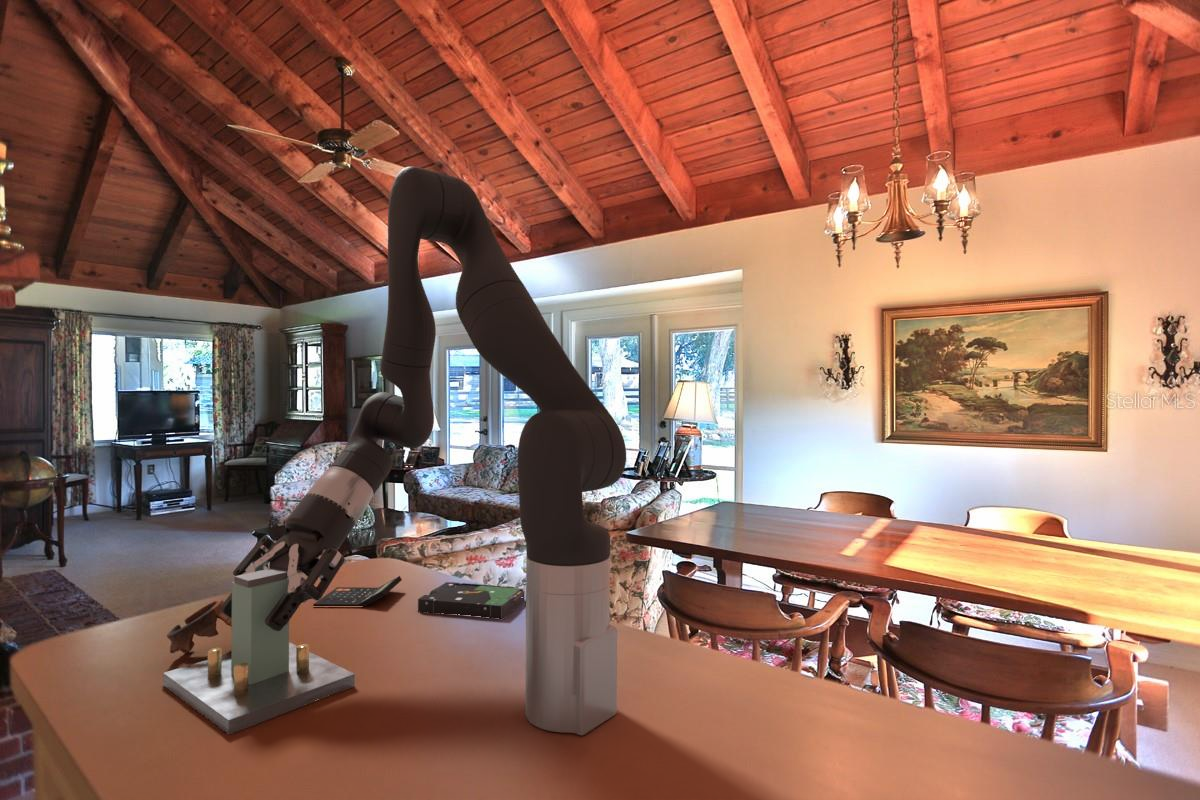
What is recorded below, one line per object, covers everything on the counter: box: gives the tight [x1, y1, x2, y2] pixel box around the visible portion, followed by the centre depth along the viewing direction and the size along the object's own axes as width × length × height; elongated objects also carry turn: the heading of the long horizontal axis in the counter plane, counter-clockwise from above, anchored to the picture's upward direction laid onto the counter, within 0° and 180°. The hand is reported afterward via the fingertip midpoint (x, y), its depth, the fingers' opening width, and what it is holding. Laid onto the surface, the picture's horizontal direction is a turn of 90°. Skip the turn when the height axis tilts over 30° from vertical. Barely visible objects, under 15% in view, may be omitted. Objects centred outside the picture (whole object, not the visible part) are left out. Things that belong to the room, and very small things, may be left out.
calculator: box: [312, 575, 403, 608], centre depth 109 cm, size 9×12×3 cm
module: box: [230, 567, 290, 685], centre depth 76 cm, size 4×5×12 cm
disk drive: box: [417, 581, 525, 620], centre depth 106 cm, size 10×3×15 cm
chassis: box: [162, 641, 356, 736], centre depth 76 cm, size 18×14×4 cm
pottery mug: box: [166, 598, 232, 655], centre depth 86 cm, size 12×9×8 cm
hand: (248, 621), depth 74 cm, fingers open, 8 cm apart
